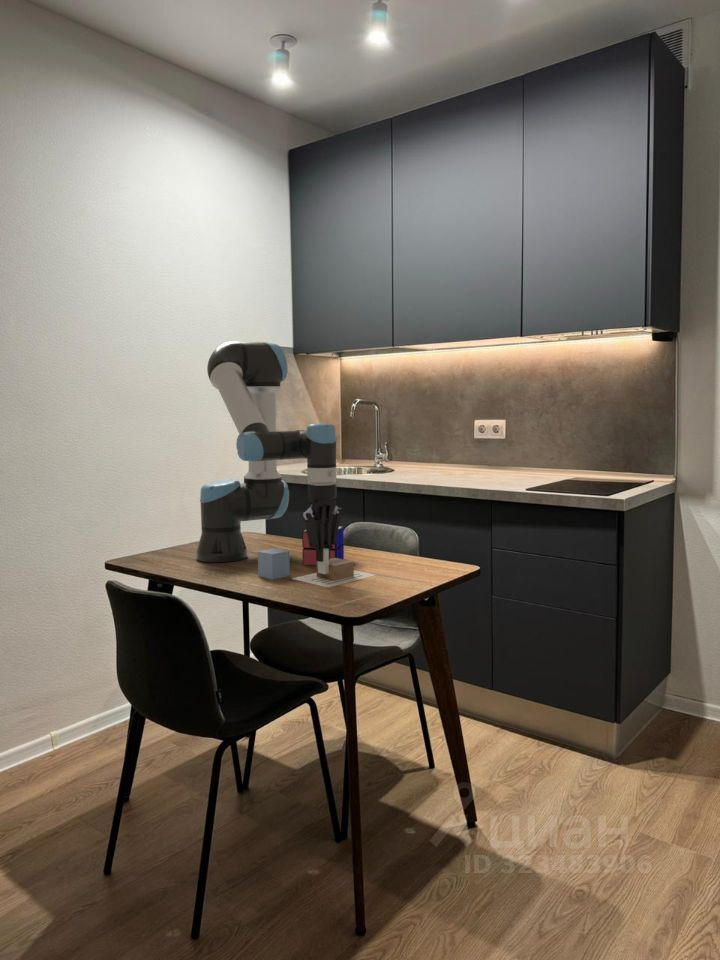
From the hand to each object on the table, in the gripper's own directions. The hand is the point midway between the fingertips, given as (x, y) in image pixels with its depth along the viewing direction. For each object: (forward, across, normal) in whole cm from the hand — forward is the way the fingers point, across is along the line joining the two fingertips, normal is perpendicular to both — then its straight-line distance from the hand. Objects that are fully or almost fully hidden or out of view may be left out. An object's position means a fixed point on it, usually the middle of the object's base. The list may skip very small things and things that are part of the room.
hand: (323, 572), depth 191 cm
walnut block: (+2, +4, 0) cm, 5 cm away
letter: (+2, +4, 0) cm, 4 cm away
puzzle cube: (+2, +15, +16) cm, 22 cm away
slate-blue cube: (+2, -6, +13) cm, 14 cm away
